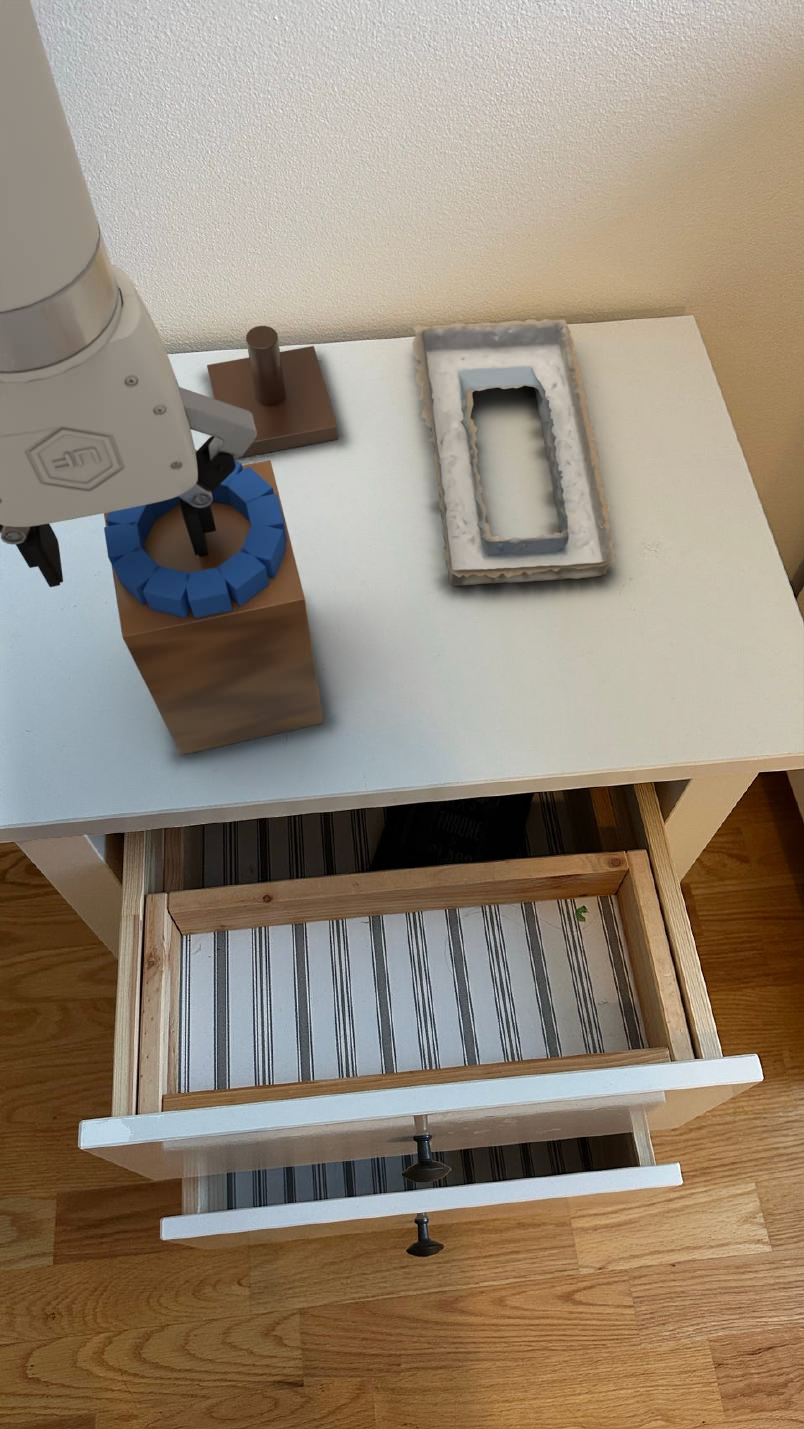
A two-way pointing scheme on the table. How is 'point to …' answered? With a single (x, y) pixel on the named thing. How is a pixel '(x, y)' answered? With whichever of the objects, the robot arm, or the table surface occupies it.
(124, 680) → the table surface
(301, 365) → the post
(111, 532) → the ring
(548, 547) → the picture frame
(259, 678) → the stand
